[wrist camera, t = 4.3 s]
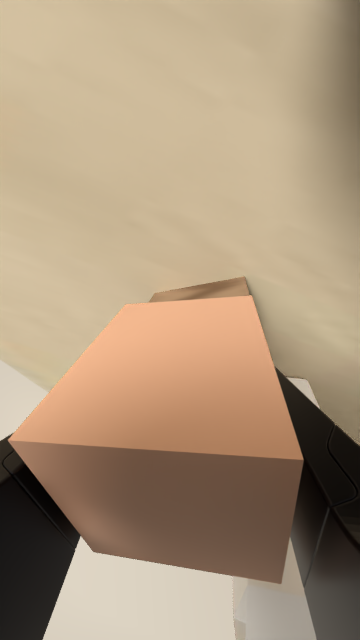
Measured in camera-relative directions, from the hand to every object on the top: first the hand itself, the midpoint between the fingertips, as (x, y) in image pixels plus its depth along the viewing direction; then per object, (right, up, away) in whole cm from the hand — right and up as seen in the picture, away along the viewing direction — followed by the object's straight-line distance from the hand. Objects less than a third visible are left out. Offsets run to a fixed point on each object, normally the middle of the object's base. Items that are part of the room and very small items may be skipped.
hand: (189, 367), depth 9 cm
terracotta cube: (0, +1, +1) cm, 1 cm away
